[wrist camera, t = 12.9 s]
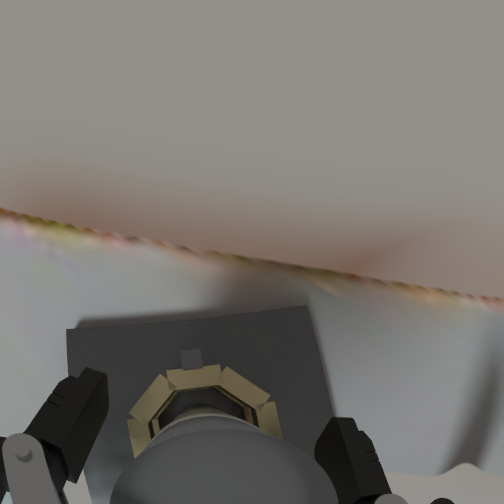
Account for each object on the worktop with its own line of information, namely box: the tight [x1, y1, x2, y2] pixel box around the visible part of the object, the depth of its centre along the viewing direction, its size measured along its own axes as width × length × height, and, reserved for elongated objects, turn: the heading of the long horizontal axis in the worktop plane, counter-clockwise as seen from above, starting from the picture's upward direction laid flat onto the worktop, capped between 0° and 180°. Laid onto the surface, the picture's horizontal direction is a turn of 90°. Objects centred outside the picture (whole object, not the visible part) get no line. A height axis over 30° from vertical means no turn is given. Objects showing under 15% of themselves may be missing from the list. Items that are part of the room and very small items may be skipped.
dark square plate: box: [66, 305, 333, 504], centre depth 15 cm, size 18×15×7 cm
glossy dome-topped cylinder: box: [110, 404, 339, 504], centre depth 10 cm, size 4×4×16 cm
